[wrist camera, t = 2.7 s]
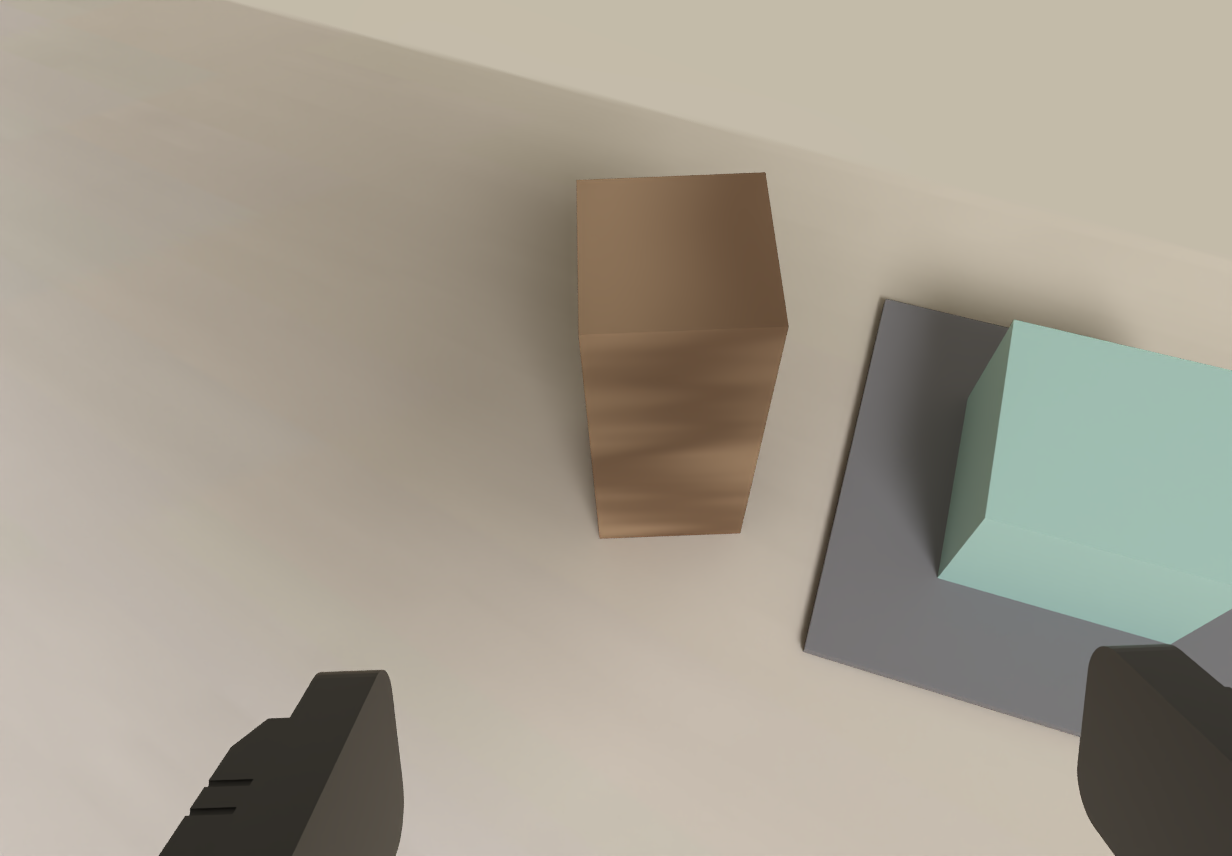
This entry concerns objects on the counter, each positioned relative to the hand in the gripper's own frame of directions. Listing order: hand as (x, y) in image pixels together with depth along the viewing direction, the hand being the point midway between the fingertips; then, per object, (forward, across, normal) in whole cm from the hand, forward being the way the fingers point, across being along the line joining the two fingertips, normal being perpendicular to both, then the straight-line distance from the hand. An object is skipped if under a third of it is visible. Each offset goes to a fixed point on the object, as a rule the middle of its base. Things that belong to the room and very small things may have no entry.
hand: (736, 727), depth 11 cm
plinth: (+15, -11, +4) cm, 19 cm away
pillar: (+17, 0, +2) cm, 17 cm away
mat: (+15, -11, +4) cm, 19 cm away
